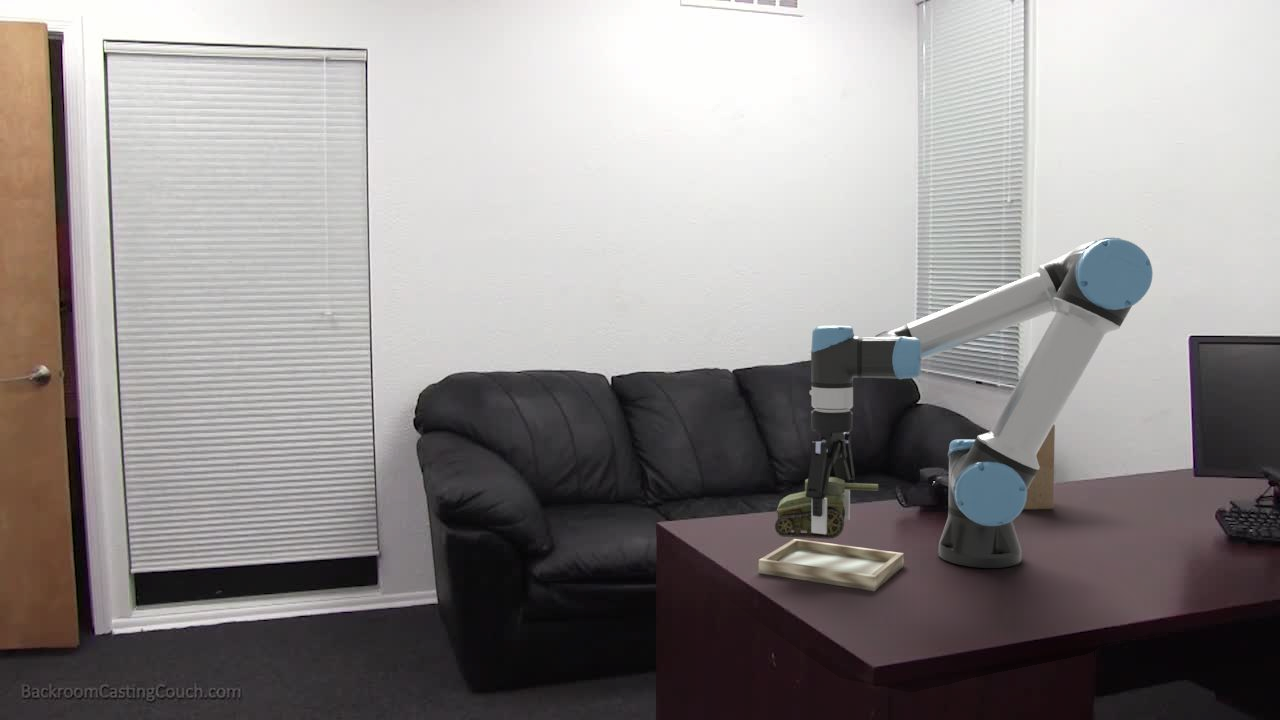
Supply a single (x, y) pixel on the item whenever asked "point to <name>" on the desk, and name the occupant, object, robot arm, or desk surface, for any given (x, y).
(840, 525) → the toy
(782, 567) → the beige tray
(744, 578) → the desk surface
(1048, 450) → the wooden block
